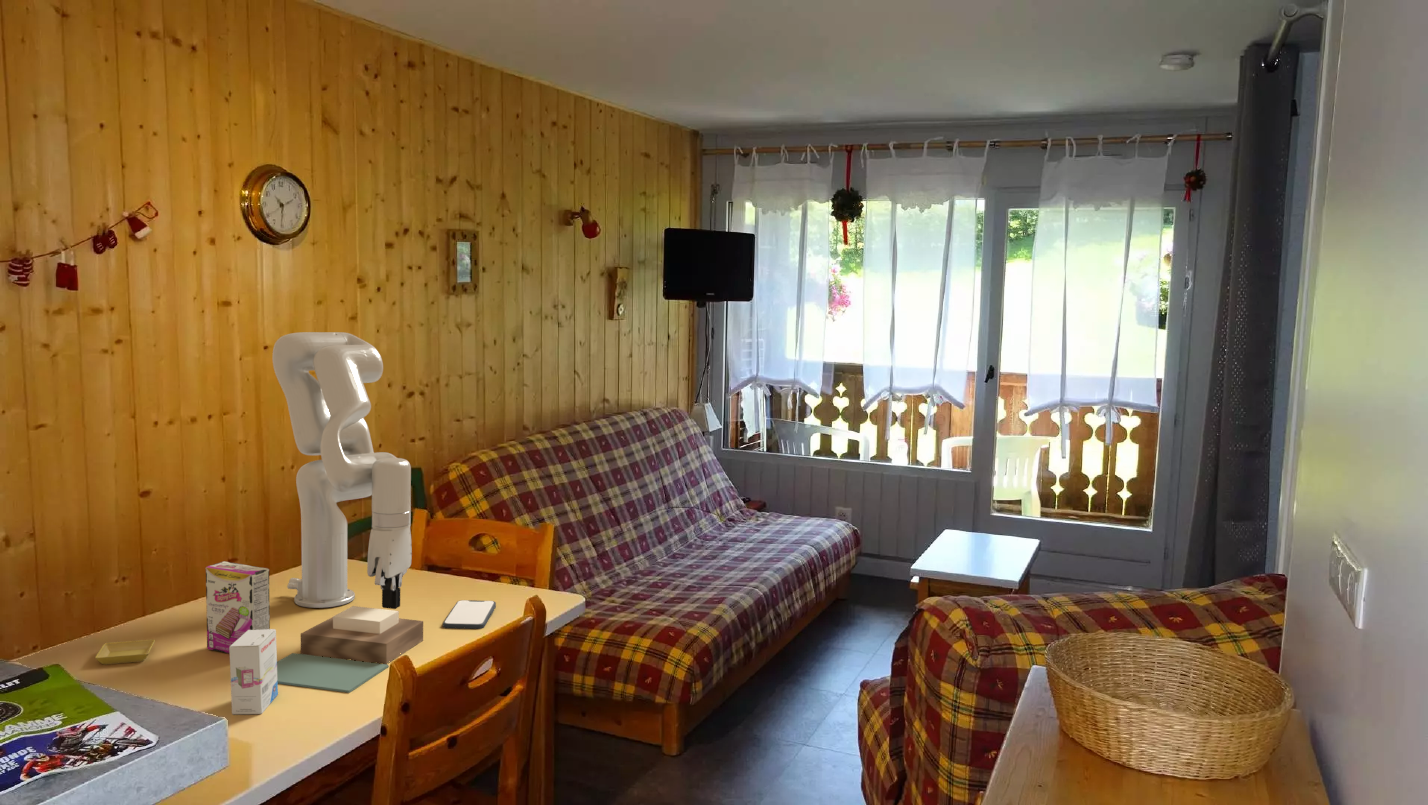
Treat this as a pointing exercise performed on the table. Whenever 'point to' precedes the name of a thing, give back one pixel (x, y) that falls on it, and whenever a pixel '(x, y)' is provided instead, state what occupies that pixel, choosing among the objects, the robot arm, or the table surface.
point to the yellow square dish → (124, 651)
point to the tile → (366, 619)
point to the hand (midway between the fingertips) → (391, 607)
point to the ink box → (253, 671)
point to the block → (361, 641)
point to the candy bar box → (235, 602)
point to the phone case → (469, 614)
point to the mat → (325, 672)
